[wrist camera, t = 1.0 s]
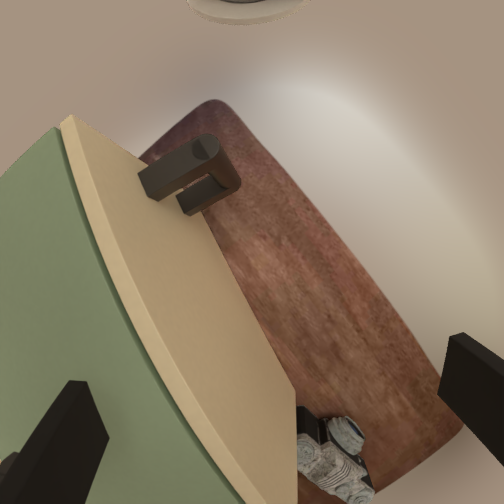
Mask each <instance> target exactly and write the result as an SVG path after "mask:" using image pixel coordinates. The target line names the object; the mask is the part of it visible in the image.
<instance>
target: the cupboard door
mask: <svg viewBox="0 0 504 504" xmlns="http://www.w3.org/2000/svg"><path fill="white" fill-rule="evenodd" d="M59 126H60V130H61V134H62V138H63V141H64V145H65V149H66V152H67V156H68V159H69V163H70V166H71V169H72V173H73V176H74V179H75V182H76V185H77V188H78V191H79V194H80V197H81V200H82V203H83V206H84V209H85V212H86V215H87V218H88V220H89V223H90V226H91V228H92V231H93V234H94V236H95V239H96V242H97V244H98V247H99V249H100V252H101V254H102V257H103V259H104V262H105V264H106V266H107V269H108V271H109V273H110V276H111V278H112V280H113V283H114V285H115V287H116V289H117V292H118V294H119V296H120V298H121V300H122V303H123V305H124V307H125V309H126V311H127V313H128V315H129V317H130V319H131V321H132V323H133V325H134V327H135V329H136V331H137V333H138V335H139V337H140V339H141V341H142V343H143V345H144V347H145V349H146V351H147V353H148V355H149V357H150V358H151V360H152V362H153V364H154V366H155V368H156V369H157V371H158V373H159V375H160V376H161V378H162V380H163V382H164V383H165V385H166V387H167V389H168V390H169V392H170V394H171V395H172V397H173V399H174V400H175V402H176V404H177V405H178V407H179V409H180V410H181V412H182V414H183V415H184V417H185V418H186V420H187V421H188V423H189V425H190V426H191V428H192V429H193V431H194V432H195V434H196V435H197V437H198V438H199V440H200V441H201V443H202V444H203V446H204V447H205V449H206V450H207V452H208V453H209V454H210V456H211V457H212V459H213V460H214V462H215V463H216V464H217V466H218V467H219V469H220V470H221V471H222V473H223V474H224V475H225V477H226V478H227V479H228V481H229V482H230V483H231V485H232V486H233V487H234V489H235V490H236V491H237V492H238V494H239V495H240V496H241V498H242V499H243V500H244V501H245V503H246V504H297V430H296V395H295V390H294V388H293V386H292V384H291V382H290V380H289V379H288V377H287V375H286V373H285V371H284V369H283V368H282V366H281V364H280V362H279V360H278V358H277V357H276V355H275V353H274V351H273V349H272V347H271V345H270V344H269V342H268V340H267V338H266V336H265V334H264V332H263V331H262V329H261V327H260V325H259V323H258V321H257V319H256V317H255V315H254V314H253V312H252V310H251V308H250V306H249V304H248V302H247V300H246V298H245V296H244V295H243V293H242V291H241V289H240V287H239V285H238V283H237V281H236V279H235V277H234V275H233V273H232V271H231V269H230V268H229V266H228V264H227V262H226V260H225V258H224V256H223V254H222V252H221V250H220V248H219V246H218V244H217V242H216V240H215V238H214V236H213V234H212V232H211V230H210V228H209V226H208V224H207V222H206V220H205V218H204V216H203V214H202V212H201V210H203V209H205V208H207V207H208V206H210V205H212V204H214V203H215V202H217V201H219V200H221V199H223V198H224V197H226V196H228V195H230V194H232V193H234V192H235V191H237V190H238V189H239V188H240V186H241V178H240V176H239V175H238V173H237V171H236V170H235V168H234V166H233V164H232V163H231V161H230V159H229V158H228V156H227V154H226V152H225V151H224V149H223V147H222V146H221V144H220V142H219V141H218V139H217V138H216V137H215V136H214V135H211V134H202V135H200V136H198V137H196V138H194V139H192V140H191V141H189V142H187V143H185V144H184V145H182V146H180V147H179V148H177V149H175V150H174V151H172V152H170V153H169V154H167V155H165V156H164V157H162V158H160V159H159V160H157V161H156V162H154V163H152V164H151V165H149V166H148V165H147V164H145V163H144V162H142V161H141V160H139V159H138V158H136V157H135V156H133V155H132V154H130V153H129V152H128V151H126V150H124V149H123V148H122V147H120V146H118V145H117V144H116V143H114V142H113V141H111V140H110V139H108V138H107V137H105V136H104V135H102V134H101V133H99V132H98V131H96V130H95V129H94V128H92V127H90V126H89V125H88V124H86V123H84V122H83V121H81V120H80V119H78V118H77V117H76V116H74V115H73V114H71V115H70V116H68V117H67V118H66V119H65V120H64V121H63V122H61V123H60V124H59ZM207 173H208V174H209V175H210V176H208V177H206V178H204V179H203V180H201V181H199V182H197V183H196V184H194V185H192V186H190V187H189V188H187V189H185V190H183V189H182V187H184V186H186V185H187V184H189V183H191V182H193V181H194V180H196V179H198V178H200V177H201V176H203V175H205V174H207Z"/></svg>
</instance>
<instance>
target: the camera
mask: <svg viewBox="0 0 504 504" xmlns="http://www.w3.org/2000/svg"><path fill="white" fill-rule="evenodd" d="M296 430H297V469H298V470H299V471H300V472H301V473H303V474H304V475H305V476H306V477H307V478H308V480H310V481H312V483H314V484H316V485H317V486H319V488H320V489H321V490H322V489H323V490H325V491H326V492H328V493H329V494H330V495H337V496H338V497H339V498H341V499H342V500H344V501H345V502H347V503H348V504H369V503H370V502H371V500H372V498H373V495H374V492H375V491H374V488H373V485H372V482H371V479H370V476H369V473H368V471H367V468H366V465H365V462H364V459H362V458H361V457H360V456H359V455H358V454H357V453H359V452H360V451H361V446H362V445H363V442H364V441H365V436H364V434H363V432H362V431H361V429H360V428H359V427H358V426H357V425H356V423H355V422H354V421H353V420H352V419H350V418H349V417H348V416H344V417H343V418H342V417H339V418H335V417H334V418H332V419H331V420H329V419H327V418H323V419H321V420H319V419H318V418H317V417H316V416H315V415H314V414H313V413H312V412H311V411H309V410H308V409H307V408H306V407H305V406H304V405H299V406H296Z"/></svg>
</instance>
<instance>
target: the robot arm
mask: <svg viewBox="0 0 504 504" xmlns="http://www.w3.org/2000/svg"><path fill="white" fill-rule="evenodd" d="M221 1H224V2H229V3H255V2H261V1H265V0H221ZM437 395H438V396H439V397H440V398H441V399H442V400H443V401H444V402H445V403H446V404H447V405H448V406H449V407H450V408H451V409H452V411H453V412H454V413H455V414H456V415H457V416H458V417H459V418H460V419H461V420H462V421H463V422H464V423H465V424H466V426H467V427H468V428H469V429H470V430H471V431H472V432H473V433H474V434H475V435H476V436H477V438H479V440H480V441H481V442H482V443H483V444H484V445H485V446H486V447H487V449H488V450H489V451H490V452H491V453H492V454H493V455H494V456H495V457H496V459H497V460H498V461H499V462H500V463H501V464H502V465H503V466H504V360H503V359H502V358H500V357H499V356H497V355H496V354H495V353H493V352H492V351H490V350H489V349H487V348H486V347H484V346H483V345H482V344H480V343H479V342H477V341H476V340H474V339H473V338H471V337H470V336H468V335H467V334H466V333H464V332H462V333H459V334H456V335H452V336H450V337H449V341H448V347H447V353H446V358H445V362H444V368H443V372H442V376H441V381H440V385H439V389H438V393H437ZM109 439H110V437H109V435H108V433H107V430H106V428H105V426H104V423H103V421H102V419H101V416H100V414H99V412H98V409H97V407H96V404H95V402H94V399H93V396H92V394H91V391H90V388H89V386H88V383H87V381H76V380H69V381H68V382H67V383H66V385H65V386H64V388H63V389H62V390H61V392H60V393H59V395H58V396H57V397H56V399H55V400H54V402H53V403H52V405H51V406H50V407H49V409H48V410H47V412H46V413H45V415H44V416H43V418H42V419H41V420H40V422H39V423H38V425H37V426H36V428H35V429H34V431H33V432H32V434H31V435H30V437H29V438H28V440H27V441H26V443H25V444H24V446H23V448H22V449H21V451H20V452H19V453H18V452H15V451H14V452H13V453H11V454H10V455H9V456H7V457H6V458H5V459H4V460H3V461H2V462H1V464H0V504H85V503H86V500H87V497H88V494H89V491H90V489H91V486H92V483H93V481H94V478H95V475H96V473H97V470H98V467H99V465H100V462H101V459H102V457H103V454H104V452H105V449H106V447H107V444H108V442H109Z"/></svg>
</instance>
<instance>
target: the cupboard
mask: <svg viewBox="0 0 504 504" xmlns="http://www.w3.org/2000/svg"><path fill="white" fill-rule="evenodd" d="M69 380H76V381H87V383H88V386H89V388H90V391H91V394H92V396H93V399H94V402H95V404H96V407H97V409H98V412H99V414H100V416H101V419H102V421H103V423H104V426H105V428H106V430H107V433H108V435H109V437H110V439H109V442H108V444H107V447H106V449H105V452H104V454H103V457H102V459H101V462H100V465H99V467H98V470H97V473H96V475H95V478H94V481H93V483H92V486H91V489H90V491H89V494H88V497H87V500H86V503H85V504H246V503H245V501H244V500H243V499H242V498H241V496H240V495H239V494H238V492H237V491H236V490H235V489H234V487H233V486H232V485H231V483H230V482H229V481H228V479H227V478H226V477H225V475H224V474H223V473H222V471H221V470H220V469H219V467H218V466H217V464H216V463H215V462H214V460H213V459H212V457H211V456H210V454H209V453H208V452H207V450H206V449H205V447H204V446H203V444H202V443H201V441H200V440H199V438H198V437H197V435H196V434H195V432H194V431H193V429H192V428H191V426H190V425H189V423H188V421H187V420H186V418H185V417H184V415H183V414H182V412H181V410H180V409H179V407H178V405H177V404H176V402H175V400H174V399H173V397H172V395H171V394H170V392H169V390H168V389H167V387H166V385H165V383H164V382H163V380H162V378H161V376H160V375H159V373H158V371H157V369H156V368H155V366H154V364H153V362H152V360H151V358H150V357H149V355H148V353H147V351H146V349H145V347H144V345H143V343H142V341H141V339H140V337H139V335H138V333H137V331H136V329H135V327H134V325H133V323H132V321H131V319H130V317H129V315H128V313H127V311H126V309H125V307H124V305H123V303H122V300H121V298H120V296H119V294H118V292H117V289H116V287H115V285H114V283H113V280H112V278H111V276H110V273H109V271H108V269H107V266H106V264H105V262H104V259H103V257H102V254H101V252H100V249H99V247H98V244H97V242H96V239H95V236H94V234H93V231H92V228H91V226H90V223H89V220H88V218H87V215H86V212H85V209H84V206H83V203H82V200H81V197H80V194H79V191H78V188H77V185H76V182H75V179H74V176H73V173H72V169H71V166H70V163H69V159H68V156H67V152H66V149H65V145H64V141H63V138H62V134H61V130H59V129H57V128H56V127H53V128H51V129H50V130H49V131H48V132H47V133H46V134H45V135H43V136H42V137H41V138H40V139H39V140H38V141H37V142H36V143H35V144H34V145H32V146H31V147H30V148H29V149H28V150H27V151H26V152H25V153H24V154H23V155H22V156H21V157H20V158H19V159H18V160H17V161H16V162H15V163H14V164H13V165H12V166H11V167H10V168H9V169H8V170H7V171H6V172H5V173H4V174H3V175H2V176H1V177H0V459H1V461H3V460H4V459H5V458H6V457H7V456H9V455H10V454H11V453H13V452H14V451H15V452H18V453H19V452H20V451H21V449H22V448H23V446H24V444H25V443H26V441H27V440H28V438H29V437H30V435H31V434H32V432H33V431H34V429H35V428H36V426H37V425H38V423H39V422H40V420H41V419H42V418H43V416H44V415H45V413H46V412H47V410H48V409H49V407H50V406H51V405H52V403H53V402H54V400H55V399H56V397H57V396H58V395H59V393H60V392H61V390H62V389H63V388H64V386H65V385H66V383H67V382H68V381H69Z"/></svg>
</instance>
